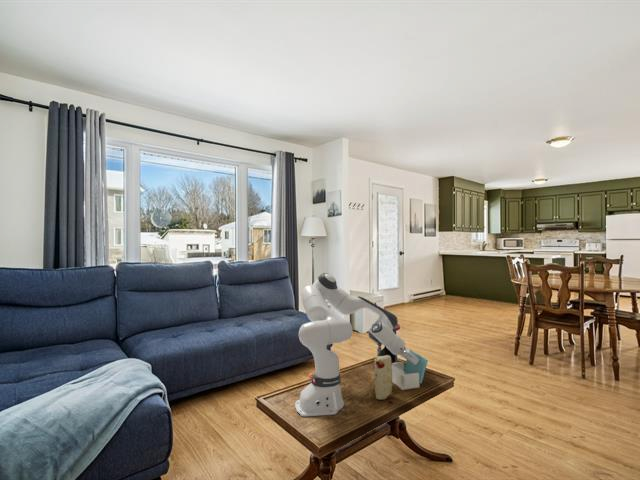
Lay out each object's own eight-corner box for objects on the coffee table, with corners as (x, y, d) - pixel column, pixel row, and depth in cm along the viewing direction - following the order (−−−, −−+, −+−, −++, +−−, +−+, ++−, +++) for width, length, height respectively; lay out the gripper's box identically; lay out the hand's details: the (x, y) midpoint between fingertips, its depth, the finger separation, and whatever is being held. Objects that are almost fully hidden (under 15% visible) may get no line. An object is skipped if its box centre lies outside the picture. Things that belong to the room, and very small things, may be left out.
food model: (380, 403, 152) (379, 359, 152) (371, 397, 157) (370, 355, 158) (396, 397, 157) (395, 355, 157) (387, 392, 162) (385, 351, 163)
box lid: (419, 382, 167) (425, 359, 168) (403, 370, 183) (409, 349, 184) (422, 383, 168) (429, 360, 169) (406, 371, 184) (412, 350, 185)
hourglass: (387, 360, 205) (385, 320, 205) (407, 368, 191) (405, 325, 192) (367, 367, 196) (366, 324, 196) (387, 375, 182) (386, 330, 182)
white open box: (402, 389, 164) (401, 371, 165) (386, 376, 181) (386, 360, 181) (419, 387, 167) (418, 369, 167) (402, 374, 183) (402, 358, 183)
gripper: (410, 347, 164) (428, 364, 167) (391, 336, 184) (408, 351, 186) (402, 357, 163) (421, 374, 166) (384, 344, 183) (401, 360, 185)
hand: (414, 361), depth 176 cm, fingers closed, pressing on box lid
